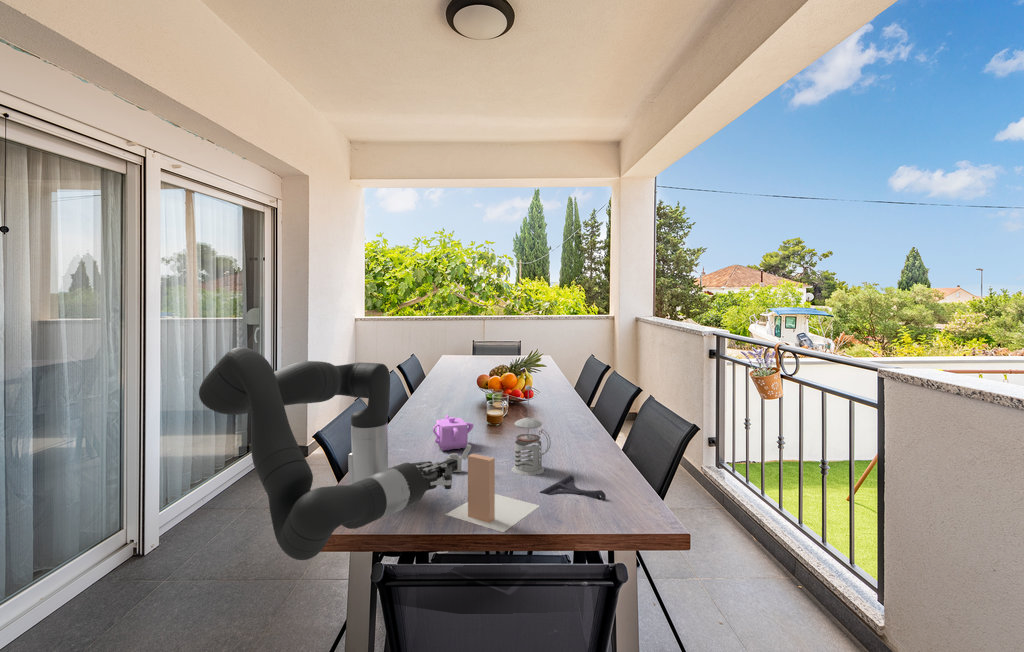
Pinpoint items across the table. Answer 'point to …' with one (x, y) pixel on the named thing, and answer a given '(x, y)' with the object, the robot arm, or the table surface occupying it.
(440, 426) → the teapot
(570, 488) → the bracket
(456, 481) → the table surface
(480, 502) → the tile
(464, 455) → the lighter
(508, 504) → the mat
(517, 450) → the french press
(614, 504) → the table surface
